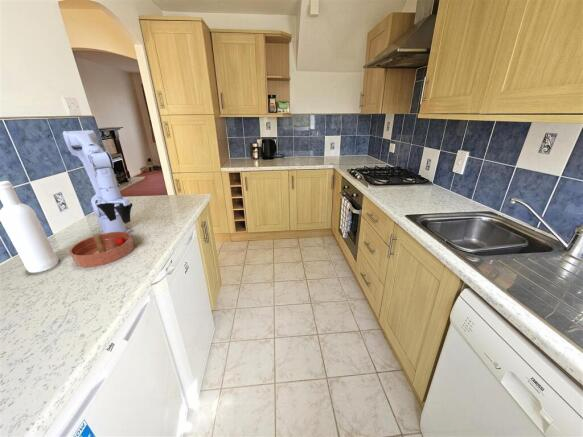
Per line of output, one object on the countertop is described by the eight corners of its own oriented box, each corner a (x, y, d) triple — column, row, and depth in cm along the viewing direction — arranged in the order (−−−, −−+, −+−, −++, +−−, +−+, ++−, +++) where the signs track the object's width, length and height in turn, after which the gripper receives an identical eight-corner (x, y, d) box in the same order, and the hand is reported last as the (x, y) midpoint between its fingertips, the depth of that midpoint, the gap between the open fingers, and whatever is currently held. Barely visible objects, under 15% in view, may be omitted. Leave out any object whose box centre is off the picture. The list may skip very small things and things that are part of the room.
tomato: (111, 242, 94) (117, 236, 96) (118, 247, 96) (123, 241, 98) (116, 241, 93) (122, 235, 95) (122, 246, 94) (128, 240, 97)
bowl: (62, 263, 85) (56, 251, 83) (112, 239, 101) (109, 229, 99) (97, 273, 80) (92, 260, 78) (145, 246, 95) (141, 235, 93)
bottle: (30, 266, 84) (-15, 182, 72) (60, 258, 89) (22, 177, 77) (26, 277, 78) (-24, 187, 67) (58, 268, 83) (16, 182, 71)
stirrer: (90, 256, 88) (82, 237, 85) (106, 249, 93) (98, 230, 90) (101, 259, 86) (93, 239, 83) (116, 251, 91) (109, 232, 88)
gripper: (83, 188, 86) (96, 223, 92) (111, 191, 82) (123, 227, 87) (103, 183, 92) (114, 216, 98) (130, 185, 88) (141, 220, 93)
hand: (120, 221), depth 93 cm, fingers open, 7 cm apart
